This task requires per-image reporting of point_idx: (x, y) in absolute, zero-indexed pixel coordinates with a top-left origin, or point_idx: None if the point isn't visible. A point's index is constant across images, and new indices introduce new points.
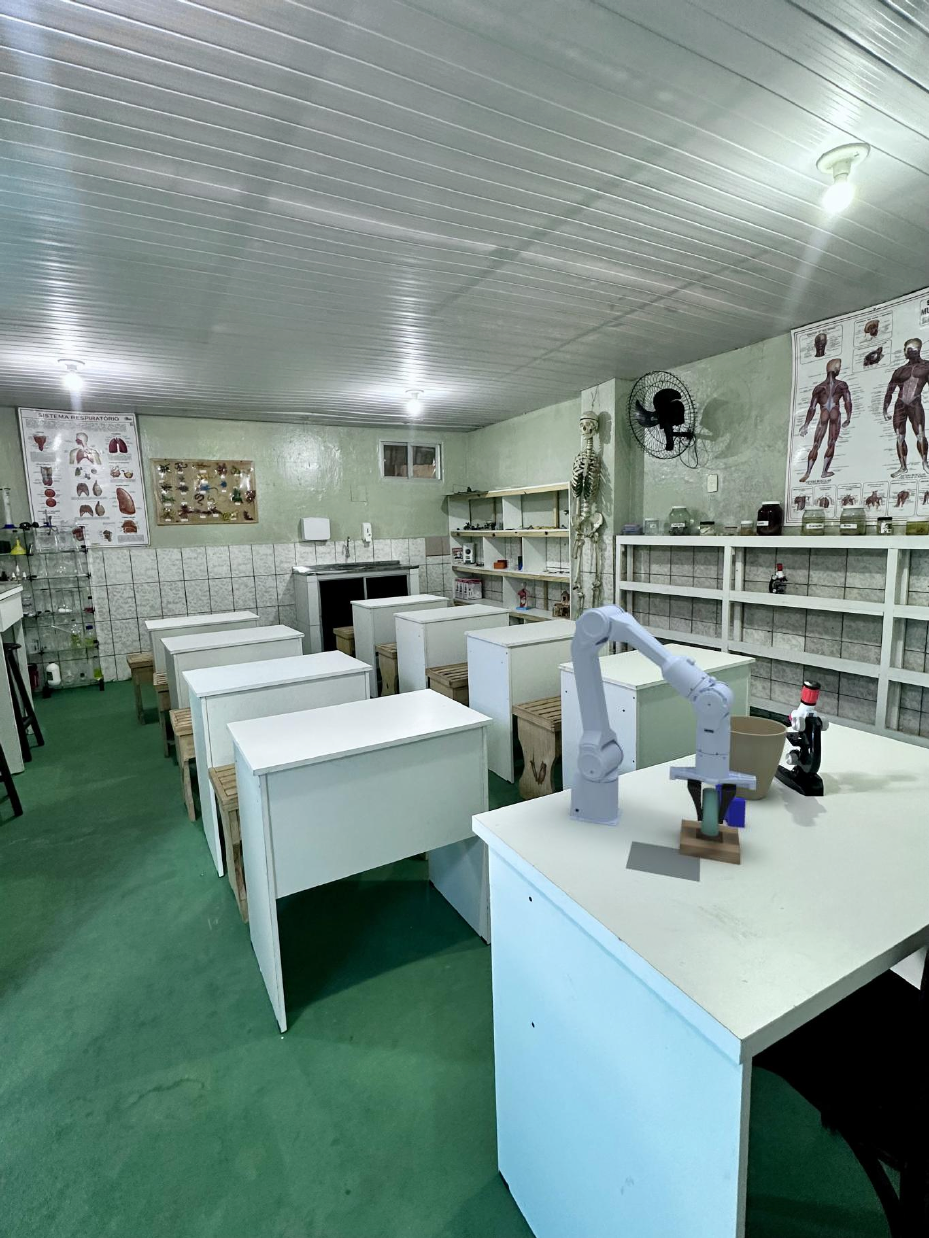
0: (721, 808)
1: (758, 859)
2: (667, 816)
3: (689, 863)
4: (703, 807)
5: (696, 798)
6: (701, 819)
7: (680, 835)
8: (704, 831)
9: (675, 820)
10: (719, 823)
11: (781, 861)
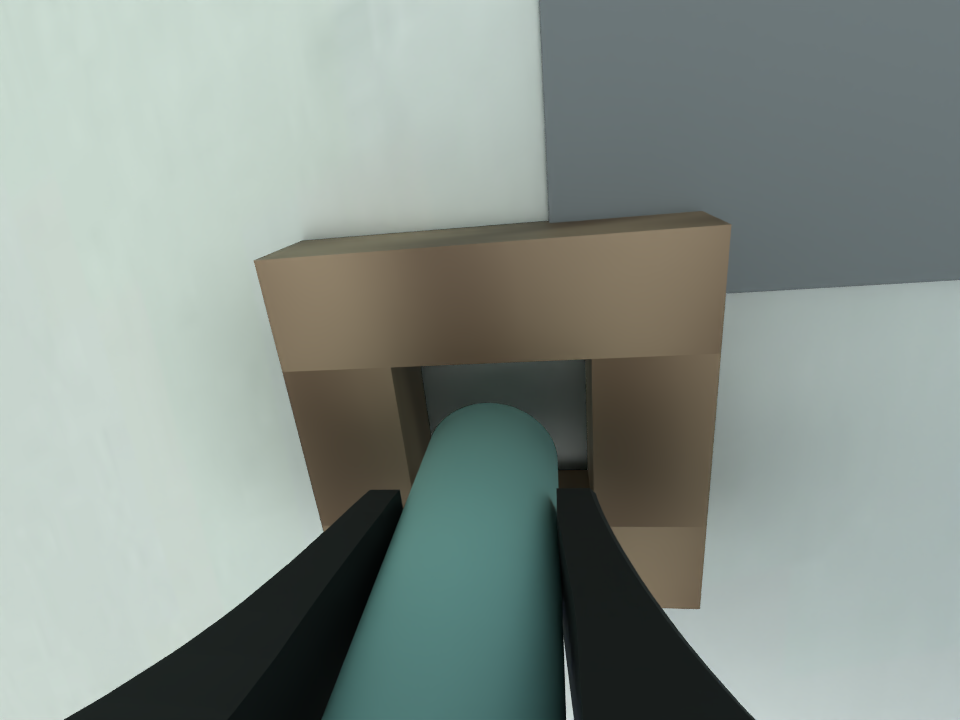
0: (303, 607)
1: (230, 374)
2: (759, 677)
3: (623, 93)
4: (540, 612)
5: (671, 718)
6: (558, 497)
7: (719, 369)
8: (528, 427)
9: (712, 647)
10: (393, 492)
11: (128, 397)
